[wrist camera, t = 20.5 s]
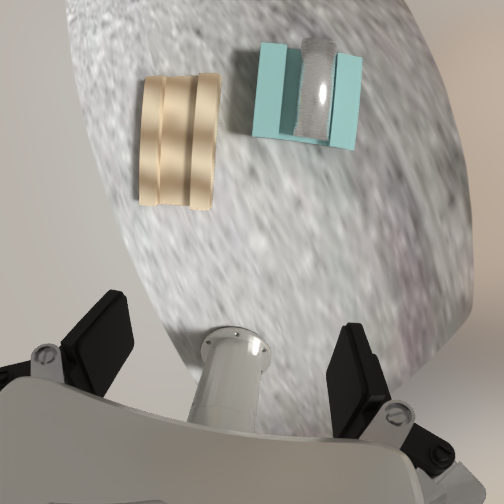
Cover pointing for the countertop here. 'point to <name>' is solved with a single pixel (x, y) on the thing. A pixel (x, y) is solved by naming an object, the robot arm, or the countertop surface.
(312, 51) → the axle
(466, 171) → the countertop surface
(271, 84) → the cradle
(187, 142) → the wooden grooved block
